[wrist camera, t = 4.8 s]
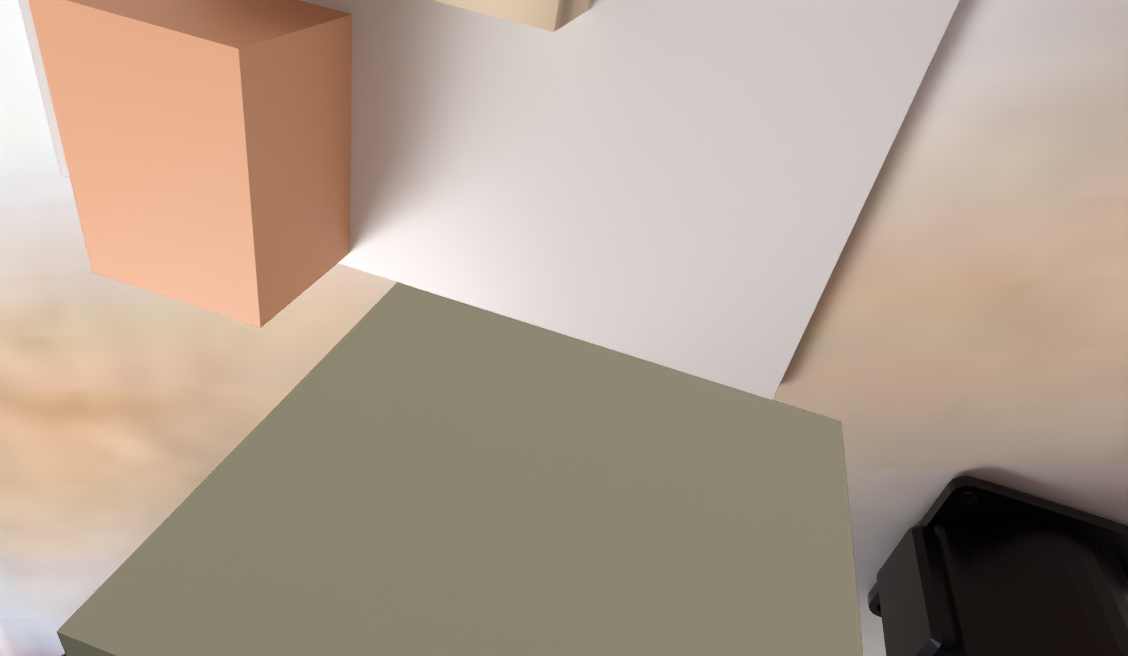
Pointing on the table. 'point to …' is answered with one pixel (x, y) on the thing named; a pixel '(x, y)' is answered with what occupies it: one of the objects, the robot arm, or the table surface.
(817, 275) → the baseplate
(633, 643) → the sage block
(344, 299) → the table surface
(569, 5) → the foundation slab
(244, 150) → the terracotta block
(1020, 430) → the table surface
